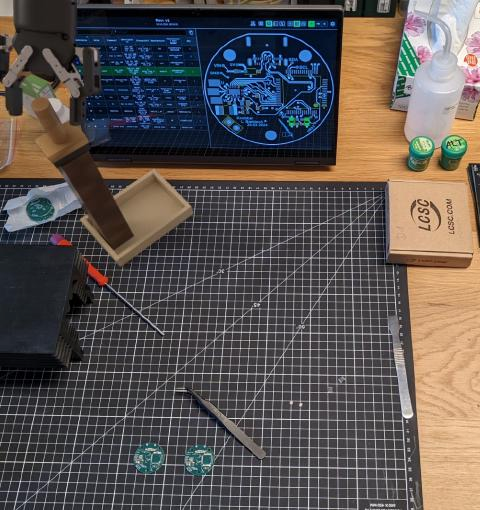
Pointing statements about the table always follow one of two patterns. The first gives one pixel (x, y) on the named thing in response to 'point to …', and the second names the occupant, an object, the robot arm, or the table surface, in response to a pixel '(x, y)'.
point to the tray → (145, 215)
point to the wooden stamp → (58, 135)
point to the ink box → (35, 92)
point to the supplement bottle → (60, 110)
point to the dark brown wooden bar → (96, 199)
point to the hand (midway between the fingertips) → (46, 120)
